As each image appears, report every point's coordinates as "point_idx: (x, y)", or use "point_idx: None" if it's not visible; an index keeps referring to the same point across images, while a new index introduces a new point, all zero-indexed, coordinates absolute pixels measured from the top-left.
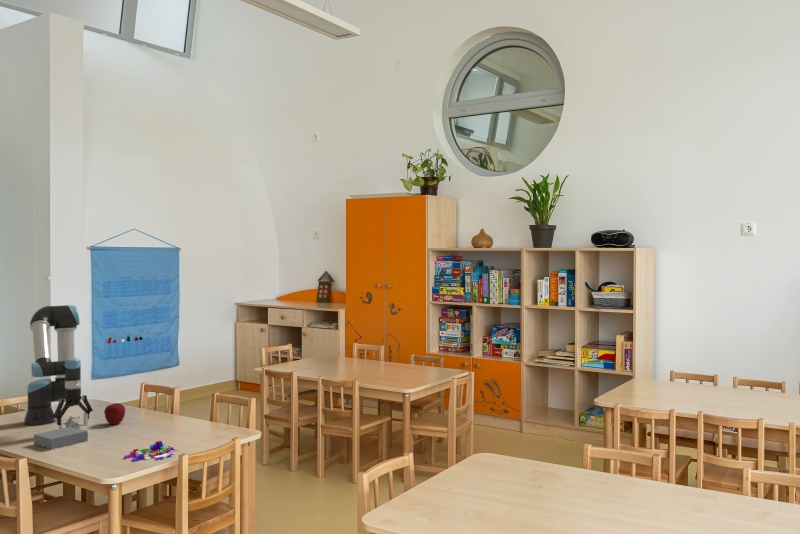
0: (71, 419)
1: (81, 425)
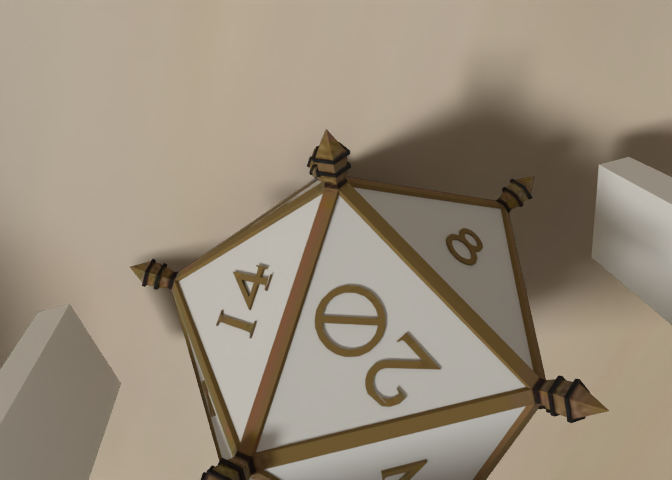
0: (509, 383)
1: (187, 268)
